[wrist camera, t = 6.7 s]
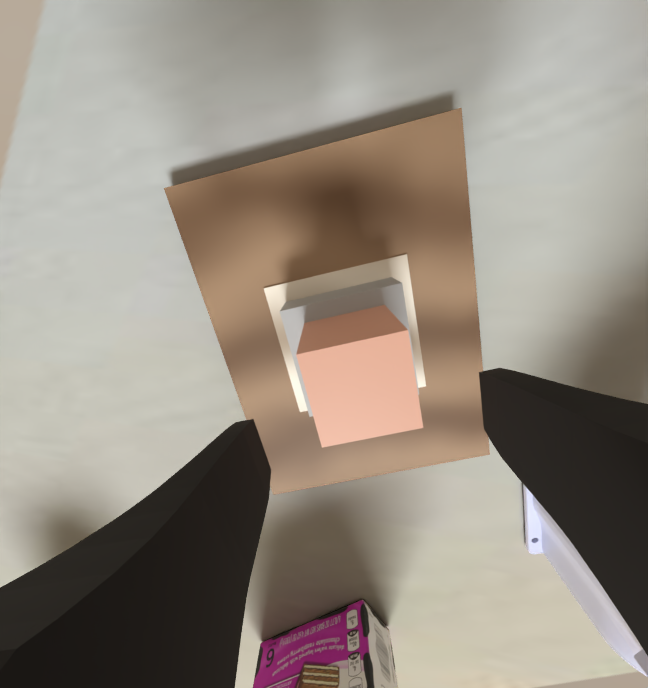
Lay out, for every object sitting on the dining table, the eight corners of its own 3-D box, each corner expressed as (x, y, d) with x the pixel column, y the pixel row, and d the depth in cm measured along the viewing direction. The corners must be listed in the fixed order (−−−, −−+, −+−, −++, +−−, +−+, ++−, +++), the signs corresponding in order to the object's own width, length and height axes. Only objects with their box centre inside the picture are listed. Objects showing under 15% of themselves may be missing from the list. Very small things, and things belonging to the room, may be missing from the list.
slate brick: (407, 375, 19) (419, 394, 17) (311, 395, 19) (309, 416, 17) (391, 276, 17) (402, 282, 15) (285, 301, 18) (279, 311, 15)
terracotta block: (397, 378, 16) (423, 427, 12) (322, 394, 17) (321, 447, 12) (384, 304, 15) (408, 330, 11) (304, 323, 15) (296, 354, 11)
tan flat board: (482, 445, 22) (490, 455, 21) (275, 484, 23) (273, 495, 22) (453, 115, 16) (462, 106, 15) (173, 191, 17) (162, 188, 16)
